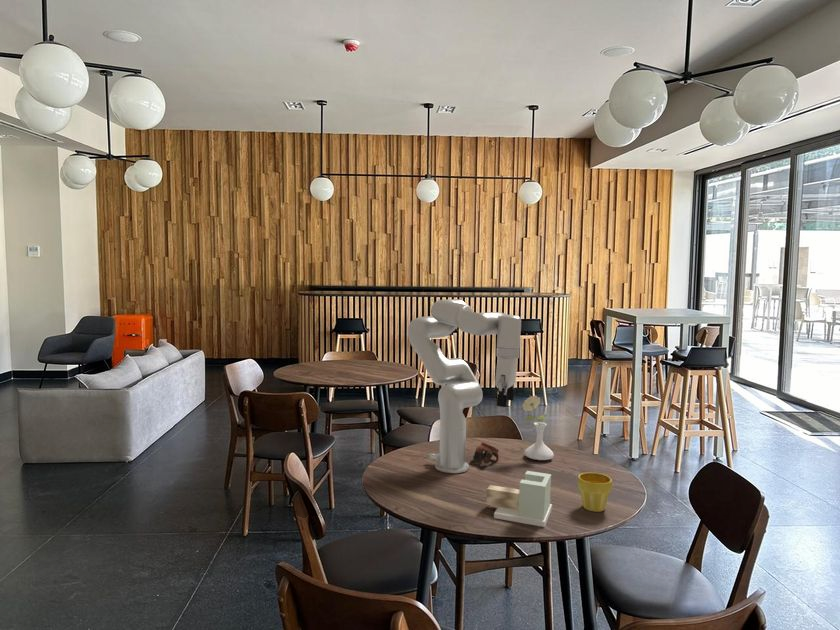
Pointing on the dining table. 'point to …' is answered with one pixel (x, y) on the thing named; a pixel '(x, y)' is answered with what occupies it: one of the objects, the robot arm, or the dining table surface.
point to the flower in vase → (538, 448)
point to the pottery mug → (485, 453)
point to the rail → (503, 497)
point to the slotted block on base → (530, 501)
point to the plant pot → (594, 490)
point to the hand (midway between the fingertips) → (505, 403)
